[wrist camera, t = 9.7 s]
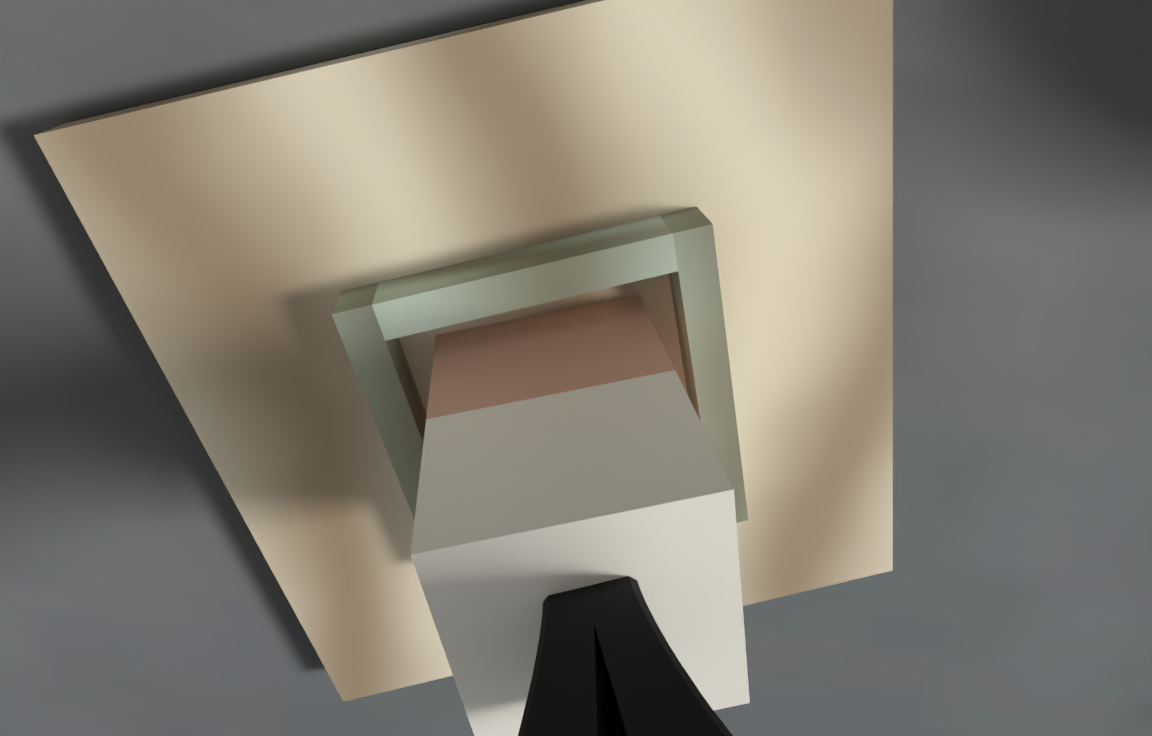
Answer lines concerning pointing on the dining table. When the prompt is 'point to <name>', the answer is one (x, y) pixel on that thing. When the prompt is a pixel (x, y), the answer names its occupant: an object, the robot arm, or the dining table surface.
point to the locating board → (517, 272)
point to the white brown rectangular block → (570, 500)
